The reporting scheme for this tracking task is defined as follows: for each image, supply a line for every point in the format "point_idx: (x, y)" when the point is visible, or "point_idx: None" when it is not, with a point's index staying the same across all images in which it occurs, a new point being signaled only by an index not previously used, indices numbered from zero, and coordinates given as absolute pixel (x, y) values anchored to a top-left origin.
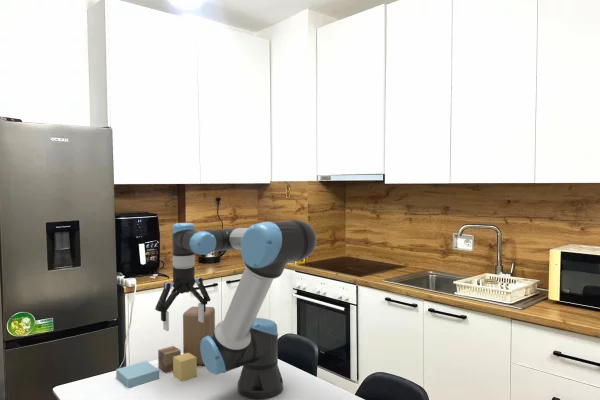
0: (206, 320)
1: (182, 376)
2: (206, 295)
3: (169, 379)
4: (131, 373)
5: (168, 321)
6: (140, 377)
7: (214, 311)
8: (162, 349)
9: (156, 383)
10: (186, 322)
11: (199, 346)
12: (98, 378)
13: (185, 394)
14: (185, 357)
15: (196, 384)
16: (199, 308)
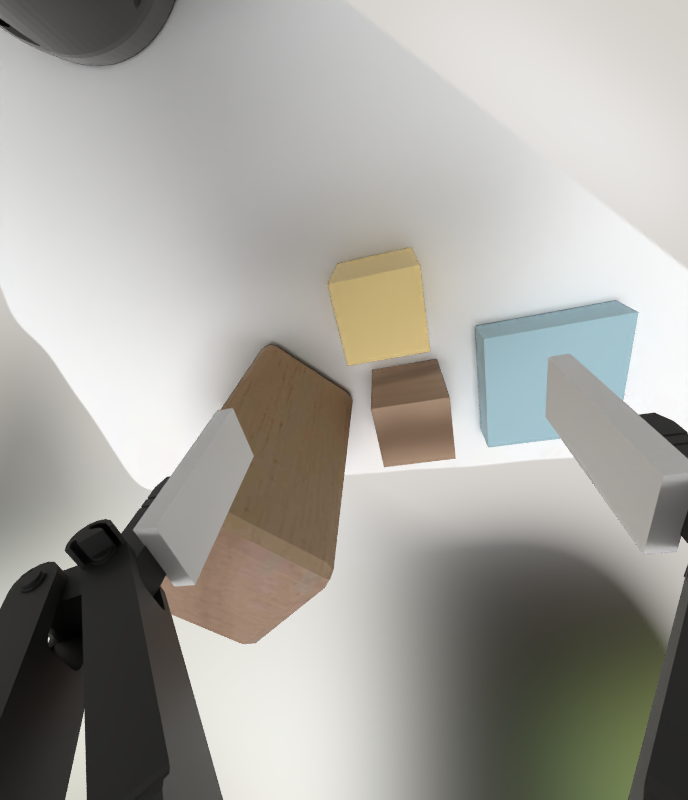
0: None
1: (406, 251)
2: (8, 652)
3: (445, 295)
4: (593, 364)
5: (595, 399)
6: (573, 319)
7: None
8: (438, 454)
9: (504, 285)
10: (321, 517)
11: (282, 396)
12: None
13: (445, 79)
14: (379, 312)
15: (362, 175)
16: (204, 523)
